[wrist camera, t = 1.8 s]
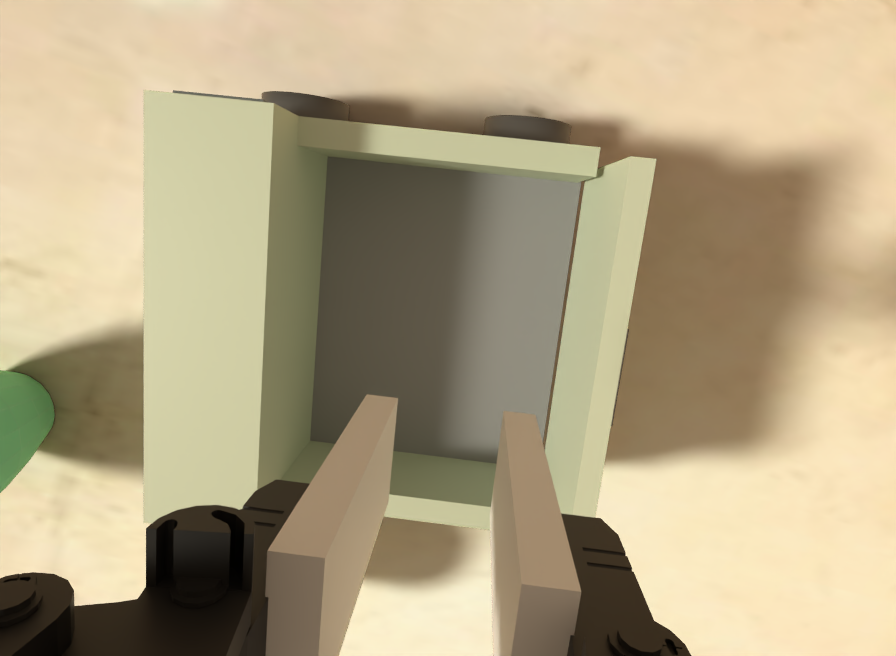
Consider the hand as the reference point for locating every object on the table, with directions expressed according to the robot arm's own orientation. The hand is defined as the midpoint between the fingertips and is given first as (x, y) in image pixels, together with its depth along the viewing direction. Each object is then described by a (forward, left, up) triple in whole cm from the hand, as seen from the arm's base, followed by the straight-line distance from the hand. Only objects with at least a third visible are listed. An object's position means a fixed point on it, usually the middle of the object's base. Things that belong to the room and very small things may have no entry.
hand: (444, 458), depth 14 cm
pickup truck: (0, -4, -21) cm, 21 cm away
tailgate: (0, +6, -18) cm, 18 cm away
